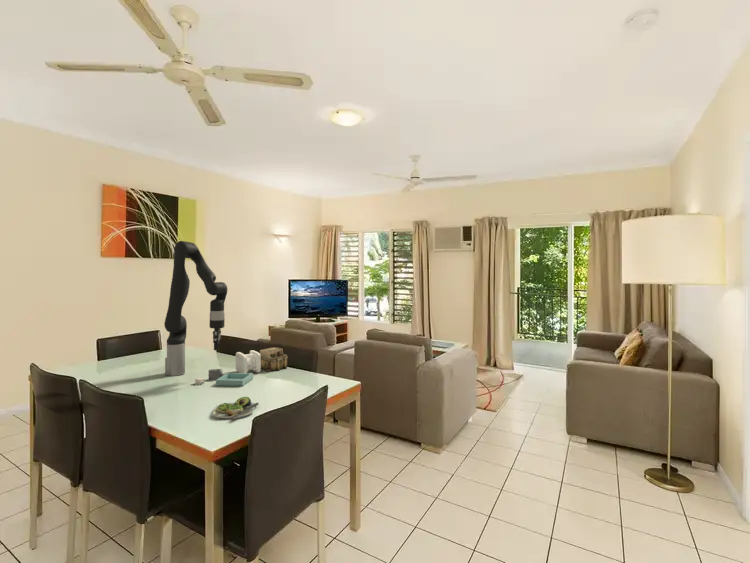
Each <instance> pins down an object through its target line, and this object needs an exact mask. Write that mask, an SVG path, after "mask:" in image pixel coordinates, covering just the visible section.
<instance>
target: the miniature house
mask: <svg viewBox="0 0 750 563" xmlns="http://www.w3.org/2000/svg"><path fill="white" fill-rule="evenodd" d="M283 351H284V350H283V348H281V347H276V346H275V347H274V346H273V347H269V348H264V349H260V350H259V353H260V356H261V370H263V371H264V372H267V373H270V372H273V373H274V372H279V371H281V370H286V369H288V358H289V357H288V355H287V354H284V352H283Z"/></svg>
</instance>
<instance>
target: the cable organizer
mask: <svg viewBox="0 0 750 563" xmlns="http://www.w3.org/2000/svg"><path fill="white" fill-rule="evenodd" d="M235 370H236V372H237V373H248V372H249V371H251V370H252V371H253V372H255V373H257V374H258V373H260V372H261V370H262V369H261V356H260V352H258V351H256V350H251V349H250V350H249V353H246V354H244V353H243V352H241V351H237V352H236V353H235ZM249 373H250V372H249Z"/></svg>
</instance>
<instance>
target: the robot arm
mask: <svg viewBox="0 0 750 563" xmlns="http://www.w3.org/2000/svg"><path fill="white" fill-rule="evenodd" d="M173 249H174V250H173V269H172V277H171V283H170V292H169V298H168V306H167V307H168V308H167V311H166V316H165V318H164V328H165V330H166V332H168V333H169V334H168V337H167V339H166V356H165V358H164V375H166V376H172V377H174V376H181V375H184V374H186V338H187V328H188V326H187V320H186V318H185V316H183V315H182V312H183V307H184V305H185V303H186V300H187V297H188V295H189V290H190V285H191V284H190V278H189V275H188V273H187V270H186V266H185V265H186V264H185V263H186V259H190V260H191V261H192V262H193V263H194V264H195V270H196V274H197V275H198V277H199V278H200V279H201V281H202V282H203V285H204V287H205V290H206V293H208V294H209V295H210V296H215V298H214V299H212V300H211V301H210V303H209V304H210V306H209V310H210V312H209V329H213V331H212V340H213V341H212V343H213V351H219V348H220V345H221V344H220V342H221V338H222V329H223V328H225V318H226V317H225V302H226V298H227V295H228V285H227V284H226V283H225V282H223V281H221V282H220V281H217V282H216V280H217V276H216V274H215V273H214V272H213V270H212V269H211V268H210V267H209V266H208V263H207V262H206V261H205V258H204V256H203V255H202V253H201V251H200V249H199V247H198V245H197V244H196V243H194V242H190V241H184V240H180V241H177V242H176V244H175V246H174V248H173Z"/></svg>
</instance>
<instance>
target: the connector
mask: <svg viewBox="0 0 750 563" xmlns="http://www.w3.org/2000/svg"><path fill="white" fill-rule="evenodd" d="M225 374H227V373H226V372H223V369H222V368H215V369H208V380H209V381H216V380H217V379H218V378H220V377H222V376H223V375H225Z"/></svg>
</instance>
